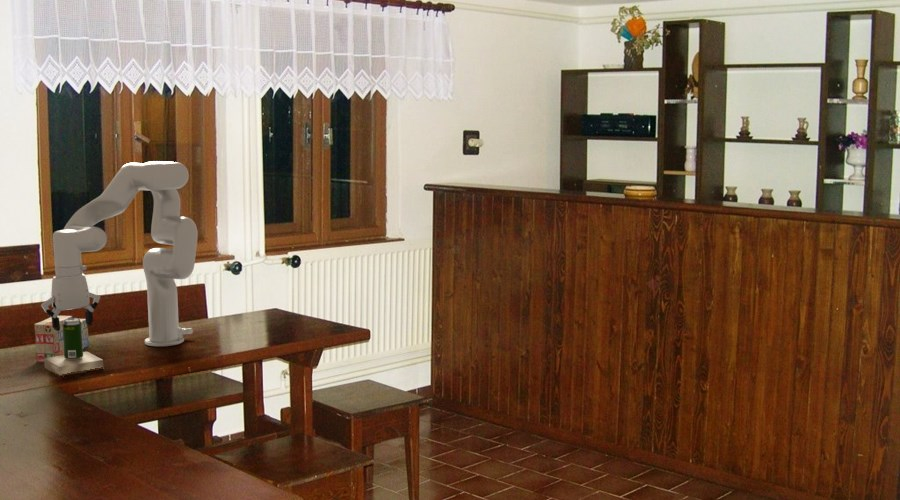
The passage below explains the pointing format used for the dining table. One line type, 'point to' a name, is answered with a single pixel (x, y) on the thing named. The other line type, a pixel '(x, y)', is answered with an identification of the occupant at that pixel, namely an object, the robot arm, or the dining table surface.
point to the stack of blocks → (54, 338)
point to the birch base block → (73, 363)
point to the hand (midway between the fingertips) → (73, 327)
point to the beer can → (72, 339)
